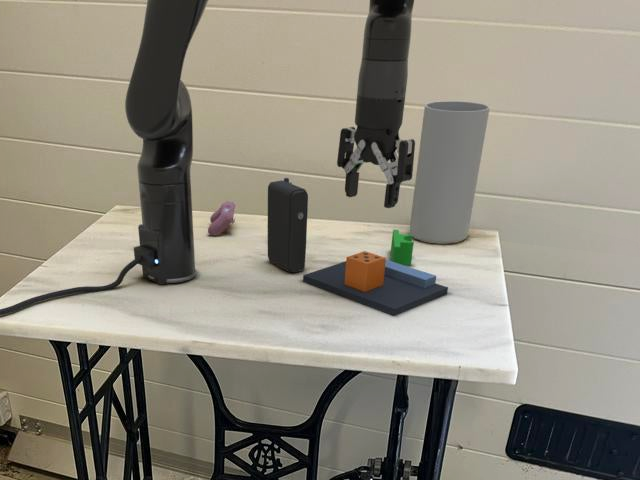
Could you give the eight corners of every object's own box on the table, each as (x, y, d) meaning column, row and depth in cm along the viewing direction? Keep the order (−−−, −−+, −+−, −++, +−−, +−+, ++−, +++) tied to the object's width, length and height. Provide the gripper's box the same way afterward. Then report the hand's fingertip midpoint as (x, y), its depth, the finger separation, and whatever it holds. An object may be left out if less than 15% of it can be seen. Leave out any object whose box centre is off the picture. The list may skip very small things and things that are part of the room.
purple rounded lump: (224, 243, 160) (238, 213, 156) (205, 233, 158) (219, 203, 155) (226, 230, 167) (240, 201, 164) (208, 220, 166) (221, 191, 162)
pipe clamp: (411, 271, 141) (414, 247, 139) (391, 270, 142) (394, 247, 139) (408, 252, 150) (411, 229, 147) (390, 251, 150) (393, 228, 148)
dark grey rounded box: (308, 271, 141) (311, 189, 132) (290, 275, 140) (293, 192, 130) (282, 258, 147) (284, 178, 138) (265, 261, 146) (266, 181, 137)
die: (364, 292, 129) (367, 263, 126) (344, 284, 132) (346, 256, 129) (383, 285, 132) (386, 257, 129) (362, 278, 135) (365, 250, 132)
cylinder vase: (429, 224, 166) (447, 99, 151) (478, 235, 159) (501, 106, 144) (397, 236, 159) (412, 106, 144) (446, 248, 152) (468, 113, 137)
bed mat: (393, 315, 124) (395, 299, 122) (302, 281, 137) (303, 266, 135) (447, 293, 132) (449, 278, 130) (356, 263, 145) (357, 249, 143)
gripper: (331, 89, 116) (324, 196, 126) (401, 100, 107) (388, 215, 117) (363, 84, 120) (353, 189, 130) (433, 95, 111) (417, 206, 121)
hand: (370, 201), depth 123 cm, fingers open, 8 cm apart
